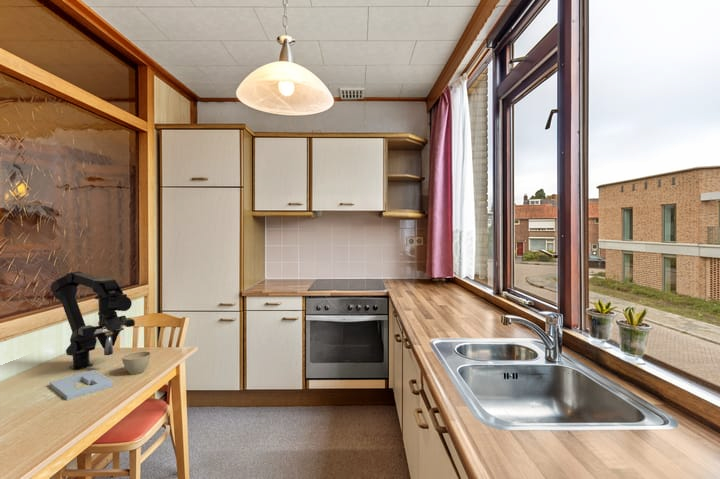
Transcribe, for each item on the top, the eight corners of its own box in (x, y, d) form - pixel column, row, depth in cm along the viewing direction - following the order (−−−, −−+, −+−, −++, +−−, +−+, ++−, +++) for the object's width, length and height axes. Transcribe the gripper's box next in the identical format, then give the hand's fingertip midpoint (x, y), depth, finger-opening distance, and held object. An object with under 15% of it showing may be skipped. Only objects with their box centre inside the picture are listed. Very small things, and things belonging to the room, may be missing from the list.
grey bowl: (137, 377, 142) (137, 360, 142) (116, 376, 144) (115, 358, 144) (156, 368, 152) (156, 351, 151) (136, 366, 154) (136, 350, 153)
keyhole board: (49, 386, 135) (49, 381, 135) (93, 373, 146) (93, 369, 146) (67, 400, 123) (67, 395, 123) (113, 385, 135) (113, 381, 135)
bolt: (101, 354, 149) (100, 332, 149) (112, 351, 152) (111, 329, 152) (104, 356, 147) (104, 333, 147) (116, 353, 150) (115, 331, 150)
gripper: (87, 316, 137) (88, 357, 137) (140, 307, 152) (141, 344, 152) (77, 313, 143) (78, 351, 144) (128, 305, 159) (129, 339, 159)
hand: (108, 346), depth 150 cm, fingers closed on bolt, 3 cm apart
